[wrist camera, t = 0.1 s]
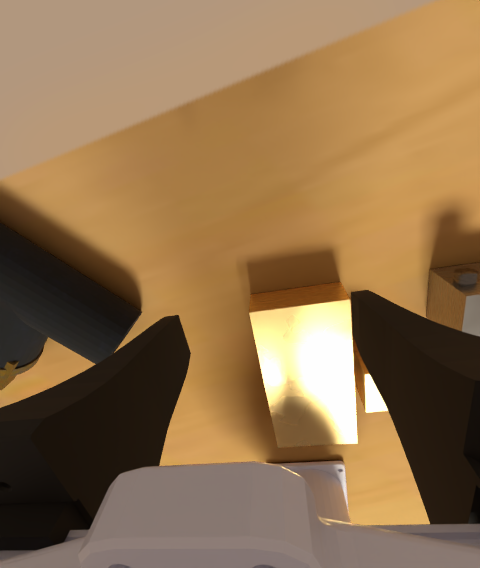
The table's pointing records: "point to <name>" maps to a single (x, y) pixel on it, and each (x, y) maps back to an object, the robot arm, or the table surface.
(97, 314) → the pipe connector
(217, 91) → the table surface
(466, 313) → the fixed leaf
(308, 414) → the tan flat block
